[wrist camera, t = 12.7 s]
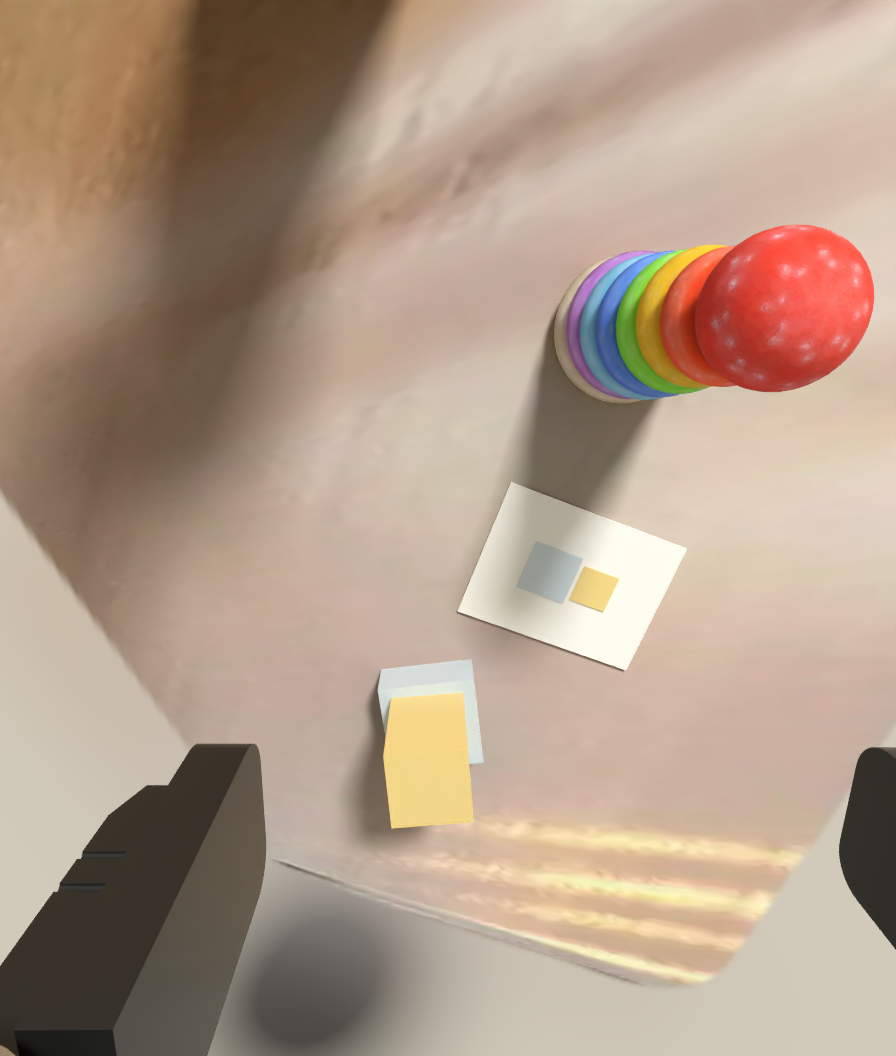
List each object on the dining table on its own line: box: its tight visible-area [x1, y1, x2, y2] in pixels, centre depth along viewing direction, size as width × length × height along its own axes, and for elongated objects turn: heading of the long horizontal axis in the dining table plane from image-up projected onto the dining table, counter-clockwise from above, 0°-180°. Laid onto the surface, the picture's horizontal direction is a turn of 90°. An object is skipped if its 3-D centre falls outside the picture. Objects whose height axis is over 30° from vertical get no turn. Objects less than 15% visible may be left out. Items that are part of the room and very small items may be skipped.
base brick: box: [378, 659, 483, 764], centre depth 41 cm, size 6×6×3 cm
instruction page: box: [457, 482, 687, 670], centre depth 39 cm, size 12×9×1 cm
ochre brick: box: [383, 693, 473, 828], centre depth 36 cm, size 4×4×6 cm
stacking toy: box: [554, 225, 874, 403], centre depth 27 cm, size 8×8×19 cm
